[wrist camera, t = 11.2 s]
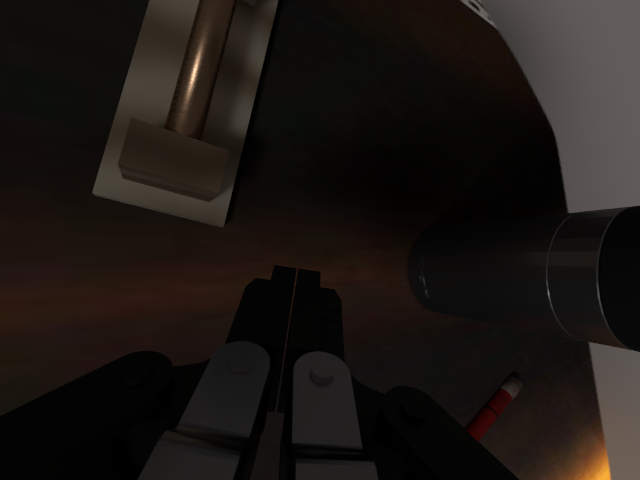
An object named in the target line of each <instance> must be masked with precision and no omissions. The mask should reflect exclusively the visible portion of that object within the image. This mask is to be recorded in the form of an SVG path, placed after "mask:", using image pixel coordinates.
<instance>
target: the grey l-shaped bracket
mask: <svg viewBox="0 0 640 480" xmlns="http://www.w3.org/2000/svg"><path fill="white" fill-rule="evenodd" d="M242 1H244V2H246V3H248V4H250V5H252V6H254V4H255V2H256V0H242Z"/></svg>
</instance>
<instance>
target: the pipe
mask: <svg viewBox="0 0 640 480" xmlns="http://www.w3.org/2000/svg"><path fill="white" fill-rule="evenodd" d="M237 1H238V0H199V3H198V7H197V10H196V14H195V18H194V21H193V25H192V29H191V32H190V36H189V39H188V43H187V47H186V50H185V54H184V57H183V61H182V65H181V68H180V72H179V76H178V79H177V83H176V86H175V90H174V94H173V97H172V101H171V105H170V108H169V112H168V115H167V119H166V123H165V126H164V129H167V130H170V131H173V132H176V133H179V134H182V135H185V136H188V137H191V138H194V139H197V140H200V141H201V140H202V136H203V132H204V128H205V125H206V121H207V117H208V113H209V109H210V105H211V101H212V98H213V94H214V90H215V86H216V82H217V78H218V75H219V71H220V67H221V63H222V59H223V55H224V51H225V48H226V44H227V40H228V36H229V32H230V28H231V24H232V21H233V17H234V13H235V9H236V5H237Z"/></svg>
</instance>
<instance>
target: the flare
mask: <svg viewBox="0 0 640 480" xmlns="http://www.w3.org/2000/svg"><path fill="white" fill-rule="evenodd" d="M521 387H523V385H522V383H521V382H520V381H519V380H518V379H517V378H515V377H513V376H509V378H508V379H507V380H506V381H505V382H504V384H503V385H502V386H501V387H500V389H499V390H498V391H497V393H496V394H495V395H494V396H493V397H492V398H491V400H490V401H489V402H488V403H487V404H486V406H485V407H484V408H483V409H482V410H481V412H480V413H479V414H478V415H477V416H476V418H475V419H474V420H473V421H472V422H471V423H470V425H469V426H468V427H467V428H466V429H465V430H466V431H467V432H469V433H470V434H471V435H472V436H473V437H474V438H475V439H476V440H477V441H479V440H480V439H481V437H482V436H483V435H484V434H485V432H486V431H487V430H488V429H489V427H490V426H491V425H492V424H493V423H494V421H495V420H496V419H497V418H498V416H499V415H500V414H501V413H502V411H503V410H504V409H505V408H506V406H507V405H508V404H509V403H510V401H511V400H513V399H514V397H515V396H516V394H518V392H519V391H520V390H521V389H522V388H521Z"/></svg>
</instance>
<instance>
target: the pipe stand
mask: <svg viewBox="0 0 640 480" xmlns="http://www.w3.org/2000/svg"><path fill="white" fill-rule="evenodd" d="M198 3H199V0H150V1H149V4H148V8H147V11H146V14H145V18H144V21H143V24H142V28H141V31H140V35H139V38H138V41H137V45H136V48H135V51H134V55H133V58H132V61H131V65H130V68H129V71H128V75H127V78H126V82H125V85H124V88H123V92H122V95H121V98H120V102H119V105H118V108H117V112H116V115H115V118H114V122H113V125H112V129H111V132H110V135H109V139H108V142H107V145H106V149H105V152H104V155H103V159H102V162H101V165H100V169H99V172H98V176H97V179H96V182H95V186H94V189H93V192H92V193H93V194H94V195H96V196H100V197H104V198H108V199H112V200H116V201H120V202H124V203H128V204H132V205H136V206H140V207H144V208H147V209H151V210H155V211H159V212H163V213H167V214H171V215H175V216H179V217H183V218H187V219H191V220H195V221H199V222H203V223H207V224H211V225H215V226H219V227H223V226H224V223H225V219H226V215H227V211H228V207H229V203H230V199H231V194H232V190H233V186H234V182H235V178H236V174H237V170H238V165H239V161H240V157H241V153H242V149H243V145H244V141H245V136H246V132H247V128H248V124H249V120H250V116H251V112H252V107H253V103H254V99H255V95H256V91H257V87H258V83H259V79H260V74H261V70H262V66H263V62H264V58H265V54H266V50H267V45H268V41H269V37H270V33H271V29H272V25H273V21H274V16H275V12H276V8H277V4H278V0H256V2H255V4H254V6H252V5H250V4H248V3H246V2H244V1H242V0H238V1H237V5H236V9H235V13H234V17H233V21H232V24H231V28H230V32H229V36H228V40H227V44H226V48H225V51H224V55H223V59H222V63H221V67H220V71H219V75H218V78H217V82H216V86H215V90H214V94H213V98H212V101H211V105H210V109H209V113H208V117H207V121H206V125H205V128H204V132H203V136H202V140H201V141H200V140H197V139H194V138H191V137H188V136H185V135H182V134H179V133H176V132H173V131H170V130H167V129H164V126H165V123H166V119H167V115H168V112H169V108H170V105H171V101H172V97H173V94H174V90H175V86H176V83H177V79H178V76H179V72H180V68H181V65H182V61H183V57H184V54H185V50H186V47H187V43H188V39H189V36H190V32H191V29H192V25H193V21H194V18H195V14H196V10H197V7H198Z"/></svg>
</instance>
